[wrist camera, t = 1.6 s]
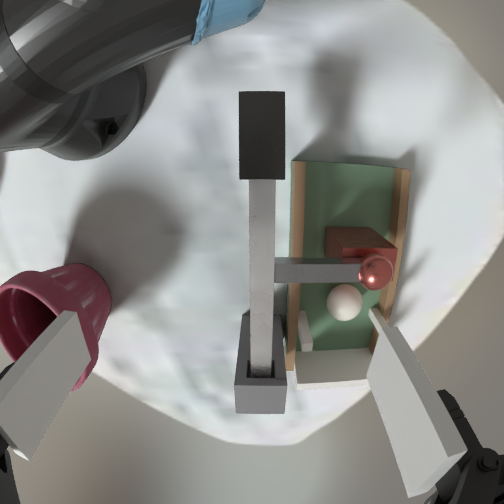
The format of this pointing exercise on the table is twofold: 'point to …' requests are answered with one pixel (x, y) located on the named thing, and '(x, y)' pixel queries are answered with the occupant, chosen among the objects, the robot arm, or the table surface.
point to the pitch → (327, 285)
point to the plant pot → (53, 307)
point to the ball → (344, 302)
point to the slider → (263, 228)
